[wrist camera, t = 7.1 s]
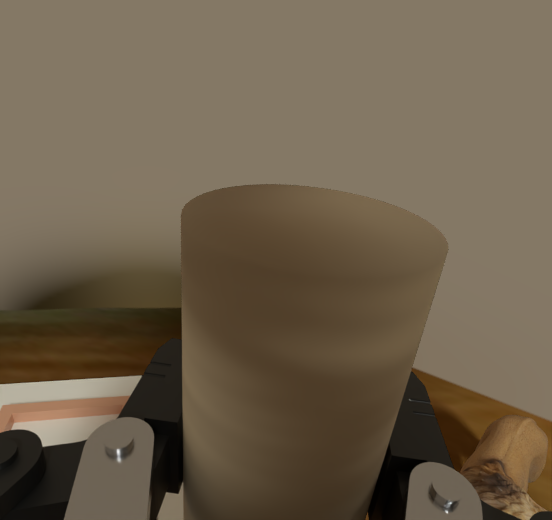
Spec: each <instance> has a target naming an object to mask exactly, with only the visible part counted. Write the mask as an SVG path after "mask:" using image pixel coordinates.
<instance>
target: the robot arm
mask: <svg viewBox="0 0 552 520" xmlns="http://www.w3.org/2000/svg"><path fill="white" fill-rule="evenodd" d="M182 483H183V404H182V340H181V339H174V338H172V339H170V340H169V341H168V342H166V343H165V344H164V345H162V346H161V347H160V348H158V350H157V352H156V353H155V355H154V357H153V358H152V360H151V363H150V364H149V365H148V367H147V369H146V370H145V372H144V375H142V377H141V379H140V380H139V382H138V384H137V385H136V387H135V389H134V390H133V392H132V394H131V396H130V397H129V399H128V401H127V402H126V404H125V406H124V407H123V409H122V411H121V412H120V414H119V416H118V417H117V419H114V420H111V421H108V422H106V423H104V424H103V425H101V426H100V427H98V428H97V429H96V430H95V431H94V432H92V434H91V435H90V436H89V437H88V439H87V440H83V441H79V442H74V443H67V444H59V445H52V446H45V447H43V446H42V442H41V439H40V438H39V436H38V435H37V434H35V433H34V432H31V431H29V430H22V429H16V430H9V431H4V432H1V433H0V520H158V513H159V511H160V508H161V505H162V503H163V500H164V497H165V494H166V492H168V493H174V494H179V492H180V489H181V486H182ZM368 516H369V520H522V519H519V518H517V517H515V516H513V515H510V514H508V513H506V512H503V511H501V510H499V509H497V508H495V507H493V506H491V505H489V504H487V503H485V502H484V501H482V500H481V499H480V498H479V496H478V494H477V492H476V490H475V489H474V487H473V486H472V485H471V483H470V482H469V481H468V480H467V479H466V478H465V477H464V476H463V475H461V474H460V473H459V472H457V471H456V470H455V469H454V467H453V464H452V462H451V459H450V456H449V453H448V450H447V447H446V445H445V442H444V439H443V436H442V433H441V430H440V428H439V425H438V422H437V419H436V418H435V414H434V411H433V408H432V405H430V399H429V397H428V394H427V391H426V388H425V386H424V385H423V383H422V382H421V381H420V380H419V379H418V378H417V376H416V375H415V374H414V373H413V372H411V373H410V376H409V379H408V382H407V386H406V389H405V392H404V395H403V398H402V402H401V405H400V408H399V411H398V415H397V418H396V421H395V424H394V428H393V431H392V434H391V437H390V441H389V444H388V447H387V450H386V454H385V457H384V460H383V463H382V466H381V470H380V473H379V476H378V479H377V483H376V486H375V489H374V492H373V496H372V499H371V502H370V505H369V509H368ZM530 520H552V512H550V511H541V512H537V513H535V514H534V515H533V516H532V517H531V518H530Z"/></svg>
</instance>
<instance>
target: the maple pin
mask: <svg viewBox="0 0 552 520" xmlns="http://www.w3.org/2000/svg"><path fill="white" fill-rule="evenodd" d="M447 253H448V243H447V241H446V238H445V237H444V236H443V234H442V233H441V232H440V231H439V230H438V229H437V228H436V227H434V226H433V225H432V224H430V223H429V222H428V221H426V220H424V219H423V218H421V217H419V216H417V215H415V214H413V213H411V212H409V211H407V210H404V209H402V208H399V207H397V206H394V205H391V204H388V203H386V202H382V201H379V200H376V199H372V198H369V197H365V196H361V195H356V194H352V193H347V192H342V191H337V190H331V189H324V188H317V187H309V186H298V185H276V184H264V185H263V184H262V185H244V186H235V187H228V188H222V189H218V190H214V191H211V192H207V193H204V194H202V195H199V196H197V197H196V198H194V199H192V200H190V201H189V202H188V203H187V204H186V205H185V206H184V208H183V209H182V214H181V279H182V280H181V283H182V404H183V520H365V518H366V515H367V512H368V509H369V505H370V502H371V499H372V496H373V492H374V489H375V486H376V483H377V479H378V476H379V473H380V470H381V466H382V463H383V460H384V457H385V454H386V450H387V447H388V444H389V441H390V437H391V434H392V431H393V428H394V424H395V421H396V418H397V415H398V411H399V408H400V405H401V402H402V398H403V395H404V392H405V389H406V386H407V382H408V379H409V376H410V373H411V369H412V366H413V363H414V360H415V356H416V353H417V350H418V347H419V343H420V340H421V337H422V333H423V330H424V327H425V324H426V321H427V318H428V314H429V311H430V307H431V305H432V301H433V298H434V295H435V291H436V288H437V285H438V282H439V279H440V275H441V272H442V269H443V266H444V263H445V259H446V256H447Z"/></svg>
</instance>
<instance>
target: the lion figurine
mask: <svg viewBox="0 0 552 520" xmlns="http://www.w3.org/2000/svg"><path fill="white" fill-rule="evenodd" d="M547 450H548V439H547V436H546V434H545V433H544V432H543V431H542V430H541V429H540V428H539V427H538V426H537V424H536V422H535V421H534V420H533V419H531V418H529V417H521V416H518V415H506V416H503V417H502V418H500V419H498V420H496V421H494V422H493V423H492V424H490V426H489V427H488V428H487V430H486V431H485V433H484V435H483V437H482V438H481V440H480V441H479V443H478V445H477V447H476V450H475V452H474V453H473V454H472V455H471V456H470V457H469V458H468V460H467V461H466V462H465V464H464V465H463V467H462V469H461V471H460V472H459V473H460V474H461V475H463V476H464V477H465V478H466V479H467V480H468V481H469V482H470V483H471V485H472V486H473V487H474V489H475V490H476V492H477V494H478V496H479V498H480V499H481V500H482V501H484V502H485V503H487V504H489V505H491V506H493V507H495V508H497V509H499V510H501V511H503V512H506V513H508V514H510V515H513V516H515V517H517V518H519V519H522V520H530V518H531V517H532V516H533V515H534V514H535V513H537V512H541V511H548V510H545V509H544V508H542V507H541V506H539V505H537V504H536V503H535V502H534V501H533V500H532V499H531V498H530V496H529V495H528V494H527V489H528V482H533V481H535V480H536V479H537V478H538V477H539V476H540V474H541V472H542V471H543V468H544V466H545V463H546V456H547ZM550 512H551V511H550Z"/></svg>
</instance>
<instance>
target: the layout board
mask: <svg viewBox="0 0 552 520" xmlns="http://www.w3.org/2000/svg"><path fill="white" fill-rule="evenodd" d="M141 377H142V376H127V377H111V378H95V379H79V380H63V381H48V382H32V383H16V384H0V433H1V432H4V431H9V430H16V429H22V430H29V431H31V432H34V433H35V434H37V435H38V436H39V438H40V439H41V442H42V446H43V447H45V446H52V445H59V444H67V443H74V442H79V441H83V440H87V439H88V437H89V436H90V435H91V434H92V432H94V431H95V430H96V429H97V428H98V427H100V426H101V425H103V424H104V423H106V422H108V421H111V420H114V419H117V417H118V416H119V414H120V412H121V411H122V409H123V407H124V406H125V404H126V402H127V401H128V399H129V397H130V396H131V394H132V392H133V390H134V389H135V387H136V385H137V384H138V382H139V380H140V379H141ZM158 520H183V483H182V486H181V489H180V492H179V494H174V493H168V492H166V494H165V497H164V500H163V503H162V505H161V508H160V511H159V513H158Z"/></svg>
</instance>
